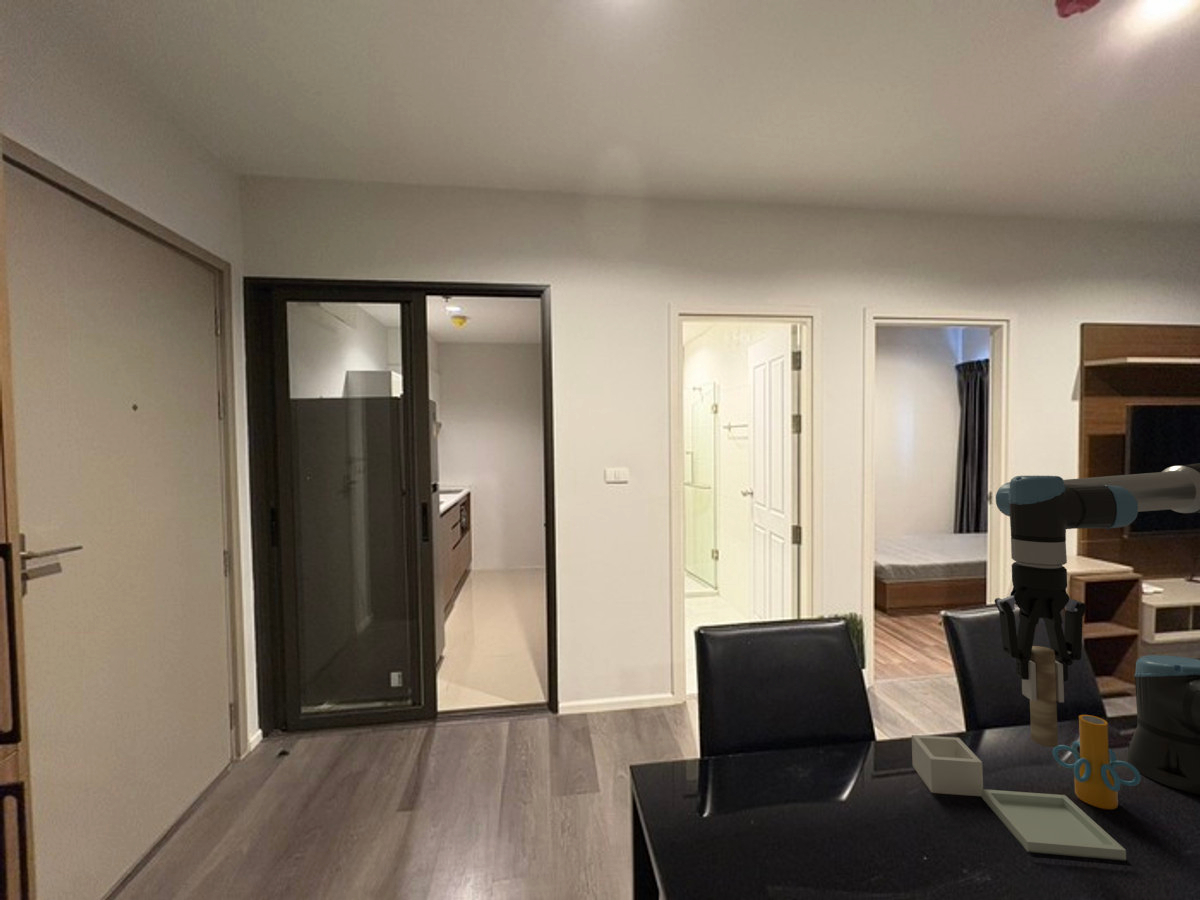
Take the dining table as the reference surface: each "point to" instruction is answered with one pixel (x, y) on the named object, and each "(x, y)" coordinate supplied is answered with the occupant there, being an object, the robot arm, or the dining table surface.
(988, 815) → the dining table surface
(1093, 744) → the tube with teal loops
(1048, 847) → the tray
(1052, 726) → the dowel
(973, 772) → the hollow square block
